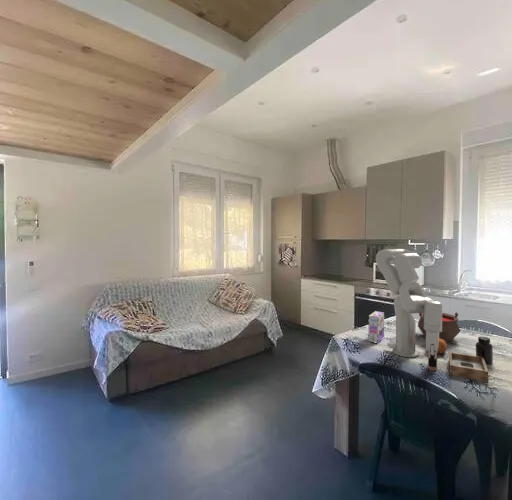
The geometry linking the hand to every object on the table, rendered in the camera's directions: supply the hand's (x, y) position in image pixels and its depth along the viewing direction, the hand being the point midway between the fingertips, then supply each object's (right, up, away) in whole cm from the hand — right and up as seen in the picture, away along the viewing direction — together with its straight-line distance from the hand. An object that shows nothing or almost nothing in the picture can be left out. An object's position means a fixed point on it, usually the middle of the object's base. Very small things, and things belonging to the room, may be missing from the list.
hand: (432, 364), depth 145 cm
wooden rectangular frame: (+15, -2, -2) cm, 15 cm away
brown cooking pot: (+28, 0, +43) cm, 51 cm away
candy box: (-11, -1, +41) cm, 42 cm away
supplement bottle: (+30, -2, +7) cm, 31 cm away
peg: (0, -2, 0) cm, 2 cm away
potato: (+14, -1, +20) cm, 24 cm away
